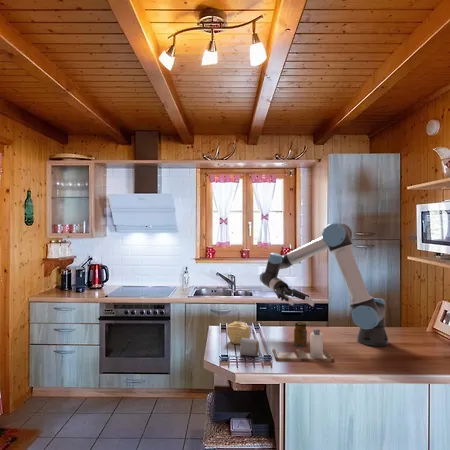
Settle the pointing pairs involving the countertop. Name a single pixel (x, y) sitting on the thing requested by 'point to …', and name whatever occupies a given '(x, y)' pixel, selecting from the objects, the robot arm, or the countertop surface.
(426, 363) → the countertop surface
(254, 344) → the ceramic mug
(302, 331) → the condiment
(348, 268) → the robot arm
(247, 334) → the sculpture
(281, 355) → the walnut tray
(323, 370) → the countertop surface
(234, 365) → the countertop surface
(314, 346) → the white bottle
